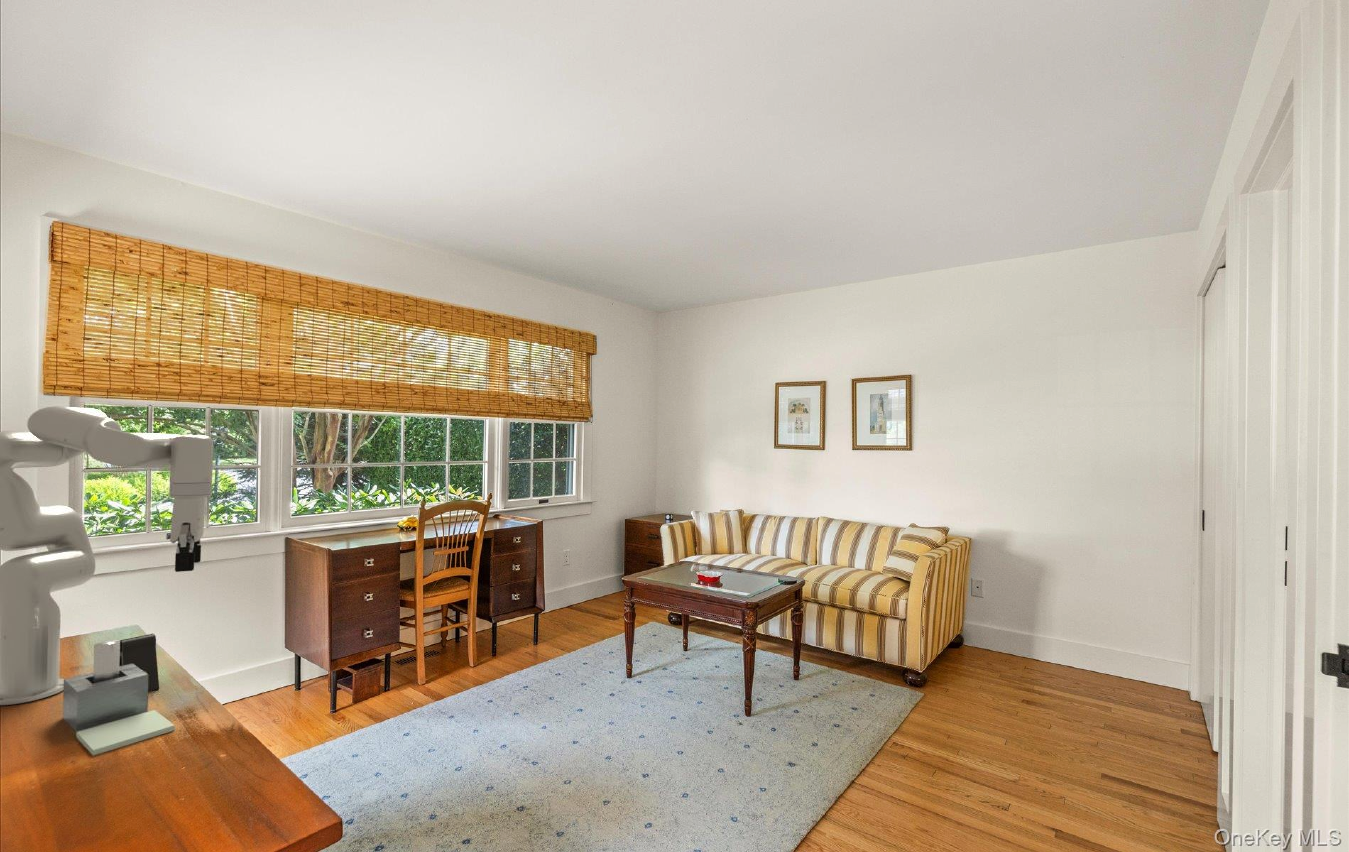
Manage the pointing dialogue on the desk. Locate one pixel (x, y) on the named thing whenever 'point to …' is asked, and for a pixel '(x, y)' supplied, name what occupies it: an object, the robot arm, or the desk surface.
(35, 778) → the desk surface
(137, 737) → the mat
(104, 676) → the grey metal cylinder
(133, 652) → the phone stand
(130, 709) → the chuck block
